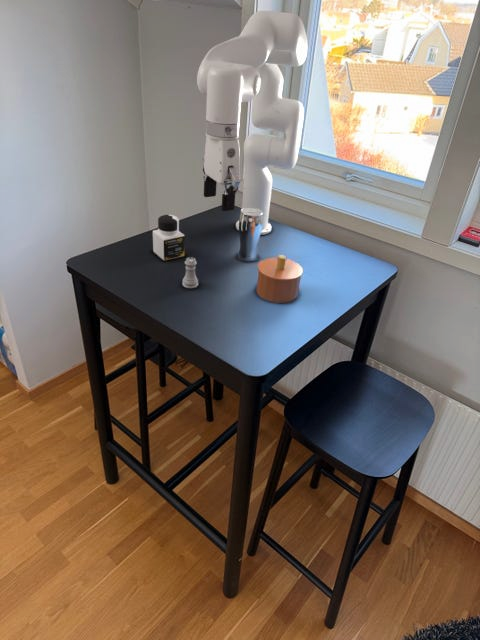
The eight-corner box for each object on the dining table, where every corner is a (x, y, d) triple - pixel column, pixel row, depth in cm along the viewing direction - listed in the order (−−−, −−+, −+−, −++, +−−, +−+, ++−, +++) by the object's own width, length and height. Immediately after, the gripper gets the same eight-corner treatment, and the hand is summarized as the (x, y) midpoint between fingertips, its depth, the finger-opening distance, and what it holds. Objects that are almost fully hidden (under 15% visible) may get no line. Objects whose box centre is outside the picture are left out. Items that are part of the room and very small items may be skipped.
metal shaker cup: (256, 264, 143) (261, 217, 134) (234, 260, 143) (237, 213, 135) (260, 254, 148) (265, 209, 140) (238, 250, 149) (242, 205, 141)
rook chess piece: (186, 279, 132) (187, 254, 127) (201, 283, 130) (201, 257, 126) (179, 286, 128) (179, 260, 124) (194, 290, 127) (194, 264, 122)
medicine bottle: (164, 261, 140) (163, 223, 133) (152, 251, 144) (151, 214, 137) (184, 256, 143) (185, 219, 136) (173, 247, 148) (173, 210, 141)
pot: (258, 279, 135) (260, 257, 131) (297, 284, 134) (301, 262, 130) (255, 300, 125) (257, 277, 121) (297, 305, 125) (301, 282, 121)
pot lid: (259, 258, 131) (260, 244, 129) (302, 263, 131) (304, 249, 128) (255, 279, 121) (257, 264, 119) (302, 285, 121) (305, 270, 118)
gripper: (256, 138, 101) (249, 214, 110) (219, 120, 113) (216, 190, 122) (225, 139, 97) (220, 217, 107) (191, 121, 109) (190, 193, 119)
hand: (218, 203), depth 115 cm, fingers open, 9 cm apart
